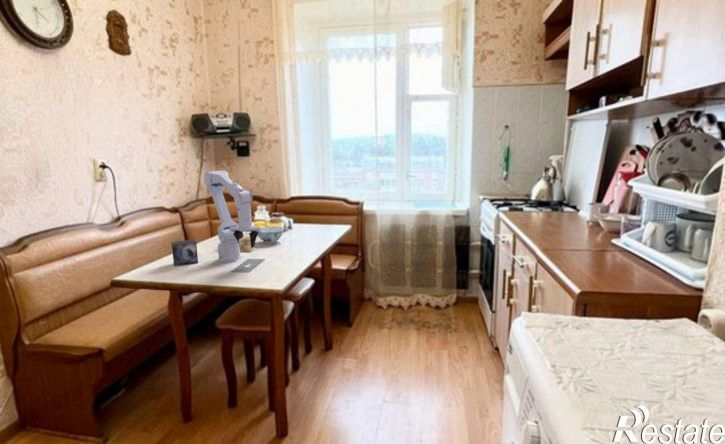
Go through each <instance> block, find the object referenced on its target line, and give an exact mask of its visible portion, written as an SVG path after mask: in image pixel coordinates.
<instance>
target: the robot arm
mask: <svg viewBox="0 0 725 444" xmlns="http://www.w3.org/2000/svg"><path fill="white" fill-rule="evenodd" d="M229 177H230V176H229V172H227V171H226V169H223V170H213V171H211V170H207V171H205V172H204V176H203V179H204V183H205V187H206V189H207V191H210V194H211V197H212V200H213V203H214V205H215V208H216V212H217V214H218V217H219V220H220V225H219V226H218V227H217V234H218V235H217V236H218V240H219V241H220V242H219V243H218V246H217V255H218V260H217V262H223V263H224V262H226V263H227V262H230V263H231V262H232V263H233V262H234V263H236V262H239V261H240V260H242V259H243V258H244V256H242V255H241V253H240V248H239V239H241V238H243V237H244V232H245V233H247V232H248V235H249V237H250V239H251V248H253V247H256V245H255V244H256V241H257V237H258V233H259V232H262V227H263V226H253V222H252V209H251V208H252V207H251V205H252V202H253V199H254V198H253V194H252V192H251V190H249V189H247V190H245V189H244V188H243V187H242V186H241V185H240V184H238V183H237V182H233V181H232V180H231V178H229ZM225 189H227V190H226V191H227V193H228V194H229V195H230V196H231V197H233V200H234V203H235V208H236V209H237V219H238V221H237V222H238V223H237V222H235V221H234V220H232V216H231V214H230V211H229V208H228V206H227V205H228V204H227V201H226V199H225V196H224V194H223V191H224V190H225Z"/></svg>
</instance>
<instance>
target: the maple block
mask: <svg viewBox="0 0 725 444" xmlns="http://www.w3.org/2000/svg"><path fill="white" fill-rule="evenodd" d="M255 247H256V246H255ZM255 247H253V248H251V239H250V236H243V238H241V239H239V250H240V254H241V253H242V254H243V253H244V254H246V253H248V254H250V253H252V252H254V251H255Z"/></svg>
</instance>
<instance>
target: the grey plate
mask: <svg viewBox="0 0 725 444" xmlns="http://www.w3.org/2000/svg"><path fill="white" fill-rule="evenodd" d="M265 260H267V259H266V258H247V259H246V260H245V261H243V262H242V263H240V264H239V265H237V266H236V267H234V268H233V269H231V270H230V271H229V273H241V274H243V273H249V274H250V273H251V272H252V271H253V270H255V269H256V268H257V267H258V266H259V265H260V264H262V263H263V262H265Z"/></svg>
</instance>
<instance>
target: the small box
mask: <svg viewBox="0 0 725 444" xmlns="http://www.w3.org/2000/svg"><path fill="white" fill-rule="evenodd" d="M197 245H198V244H197V240H196V239H187V240H178V241H172V242H171V251H172V260H173V265H174V267H178V266H180V267H181V266H185V265H186V266H187V265H194V264H199V257H198V246H197Z"/></svg>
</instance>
